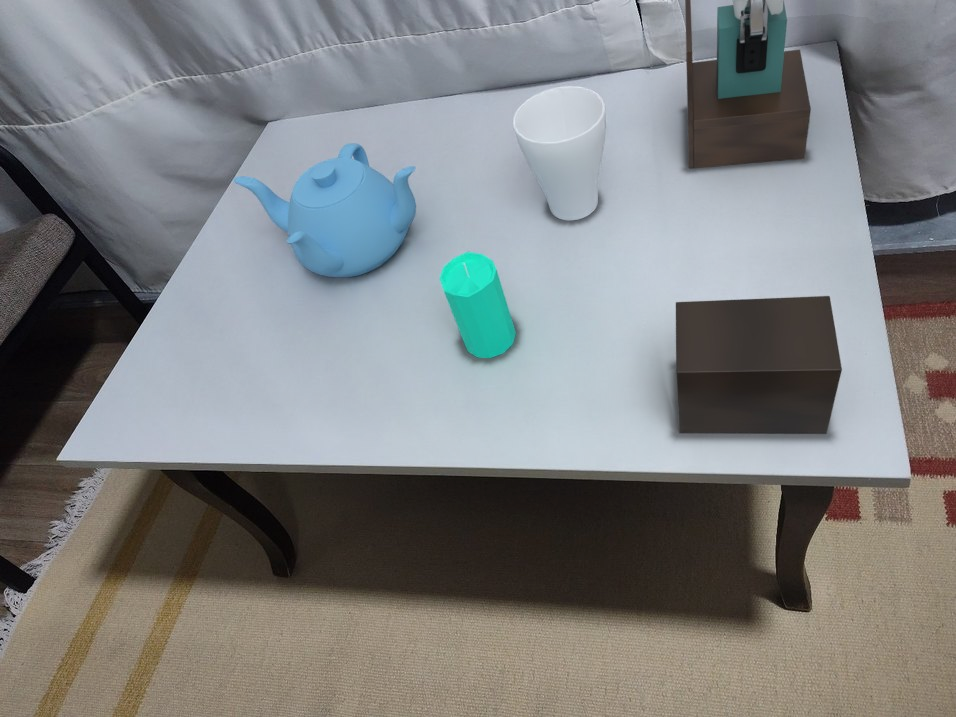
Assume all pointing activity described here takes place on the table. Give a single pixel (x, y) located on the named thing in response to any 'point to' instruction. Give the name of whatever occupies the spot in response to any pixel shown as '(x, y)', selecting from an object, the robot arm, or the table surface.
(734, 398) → the dark brown box
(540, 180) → the cup
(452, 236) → the table surface
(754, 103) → the shelf
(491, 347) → the candle
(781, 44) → the block
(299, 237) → the teapot
